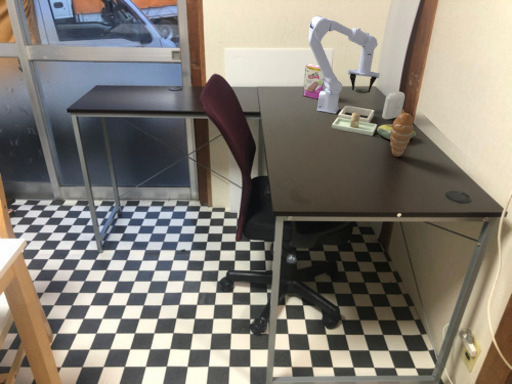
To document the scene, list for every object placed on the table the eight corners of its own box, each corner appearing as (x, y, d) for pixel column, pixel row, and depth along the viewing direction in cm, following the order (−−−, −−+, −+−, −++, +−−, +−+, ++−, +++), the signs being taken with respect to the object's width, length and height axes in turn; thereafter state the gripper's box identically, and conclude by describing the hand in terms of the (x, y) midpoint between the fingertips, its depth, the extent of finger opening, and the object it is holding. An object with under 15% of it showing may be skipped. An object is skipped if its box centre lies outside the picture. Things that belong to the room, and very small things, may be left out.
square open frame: (337, 120, 190) (338, 114, 188) (344, 111, 201) (345, 105, 199) (367, 125, 185) (368, 119, 183) (373, 116, 196) (374, 110, 195)
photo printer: (394, 114, 200) (400, 89, 194) (401, 116, 197) (407, 91, 191) (380, 117, 195) (385, 92, 189) (387, 120, 192) (392, 94, 186)
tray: (331, 128, 181) (331, 124, 180) (336, 121, 189) (337, 117, 188) (372, 135, 175) (373, 132, 174) (376, 128, 183) (377, 124, 182)
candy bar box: (302, 96, 219) (305, 65, 211) (306, 94, 223) (309, 63, 214) (321, 100, 214) (324, 68, 206) (325, 98, 218) (329, 66, 209)
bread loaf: (349, 127, 181) (351, 114, 178) (351, 124, 184) (353, 112, 181) (357, 129, 180) (359, 116, 177) (359, 126, 182) (361, 113, 179)
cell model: (376, 125, 180) (412, 116, 174) (380, 142, 181) (416, 134, 176) (376, 129, 170) (414, 120, 164) (380, 147, 171) (417, 138, 166)
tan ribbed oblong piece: (382, 151, 162) (391, 107, 153) (401, 151, 162) (412, 107, 153) (390, 161, 154) (400, 115, 145) (410, 161, 155) (421, 116, 146)
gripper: (348, 62, 191) (344, 91, 198) (380, 66, 187) (375, 95, 194) (351, 59, 196) (347, 87, 203) (382, 62, 192) (376, 91, 199)
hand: (360, 90), depth 199 cm, fingers open, 7 cm apart
